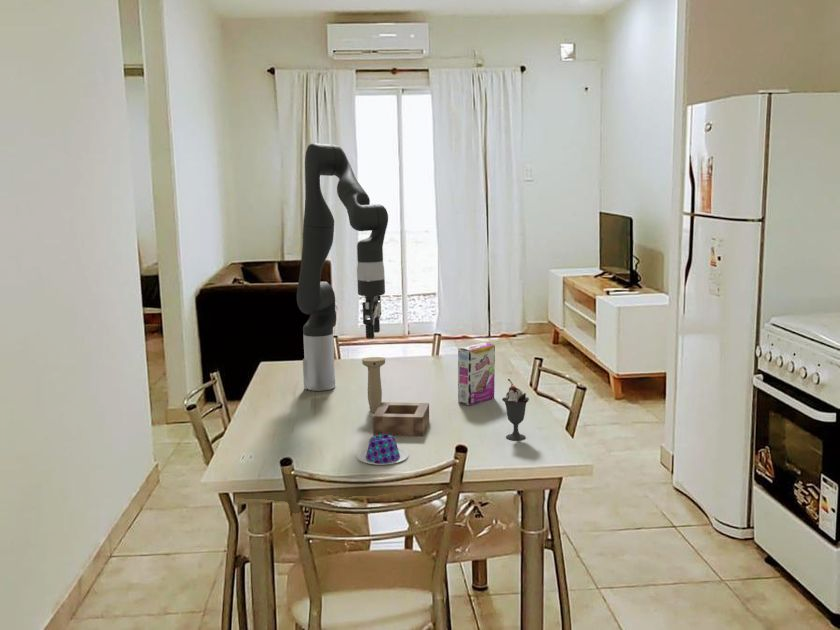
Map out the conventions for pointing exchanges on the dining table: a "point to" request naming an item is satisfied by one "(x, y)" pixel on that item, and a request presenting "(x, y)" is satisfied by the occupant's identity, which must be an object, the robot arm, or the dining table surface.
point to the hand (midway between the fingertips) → (373, 335)
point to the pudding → (382, 451)
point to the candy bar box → (476, 373)
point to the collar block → (401, 419)
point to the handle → (374, 381)
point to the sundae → (515, 410)
